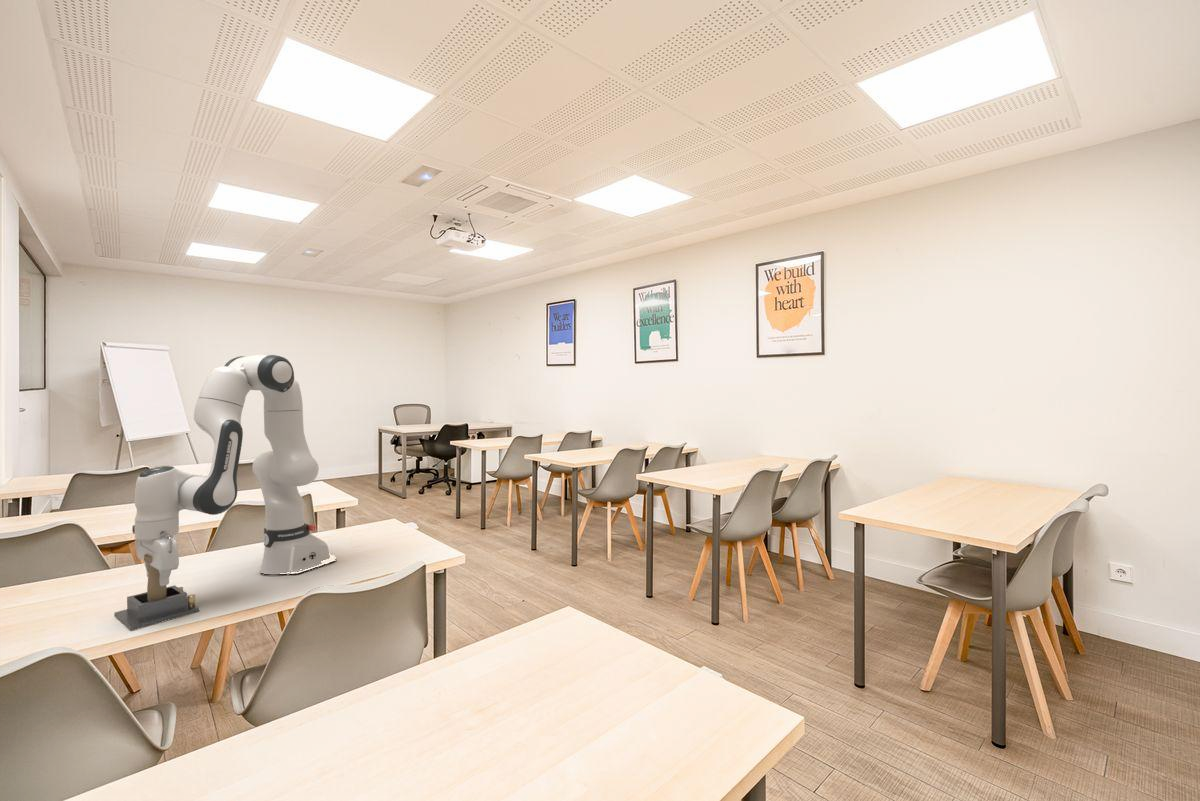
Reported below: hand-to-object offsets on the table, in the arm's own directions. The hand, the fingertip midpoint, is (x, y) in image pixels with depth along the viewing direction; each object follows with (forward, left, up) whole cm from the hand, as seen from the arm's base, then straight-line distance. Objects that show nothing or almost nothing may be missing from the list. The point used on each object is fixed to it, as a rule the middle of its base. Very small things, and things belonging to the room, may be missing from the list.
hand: (157, 580), depth 137 cm
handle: (0, 0, -8) cm, 8 cm away
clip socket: (0, 0, -9) cm, 9 cm away
